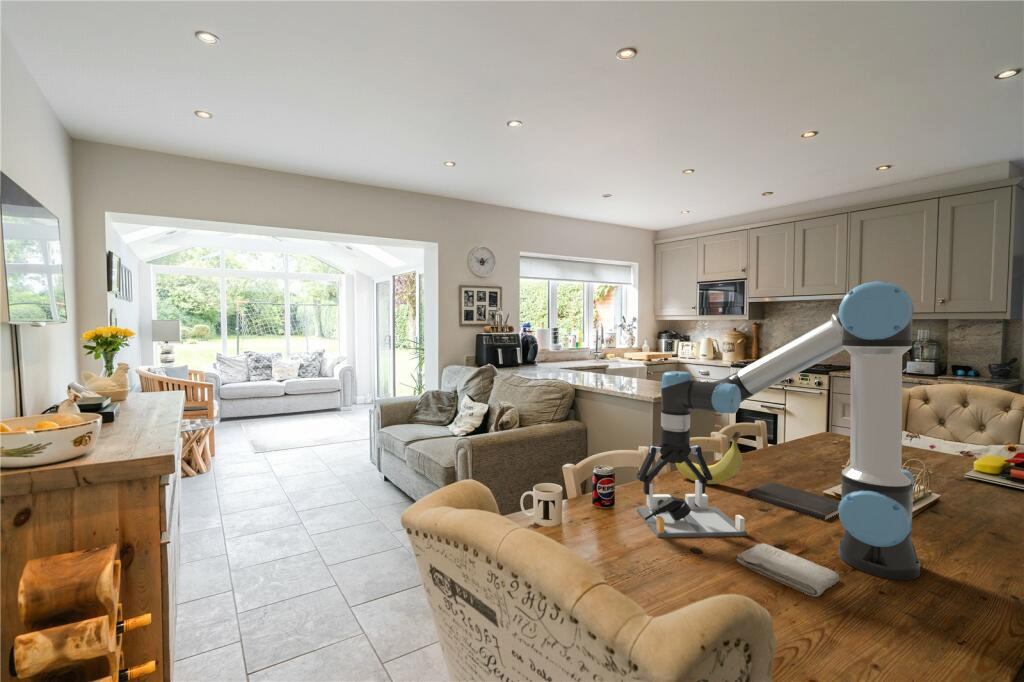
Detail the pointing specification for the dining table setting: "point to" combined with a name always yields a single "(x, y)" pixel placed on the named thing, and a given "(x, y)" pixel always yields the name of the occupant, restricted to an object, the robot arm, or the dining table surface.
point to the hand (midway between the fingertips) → (673, 505)
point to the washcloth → (788, 569)
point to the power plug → (673, 509)
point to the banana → (718, 465)
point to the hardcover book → (796, 500)
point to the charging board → (692, 520)
